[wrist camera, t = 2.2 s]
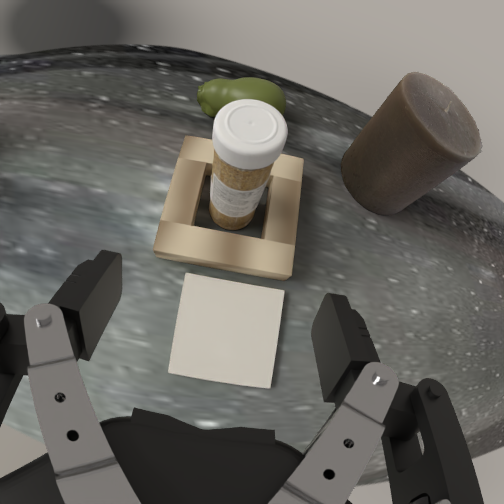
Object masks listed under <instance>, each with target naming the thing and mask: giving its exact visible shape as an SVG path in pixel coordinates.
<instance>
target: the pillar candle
mask: <svg viewBox="0 0 504 504" xmlns="http://www.w3.org/2000/svg"><path fill="white" fill-rule="evenodd" d="M481 148H482V142H481V139H480V135H479V129H478V128H477V126H476V123H475V121H474V119H473V117H472V116H471V114H470V113H469V111H468V110H467V108H466V107H465V105H464V104H463V103H462V102H461V101H460V100H459V98H458V97H457V96H456V95H455V94H454V92H453V91H452V90H451V89H450V88H448V87H447V86H445V85H443V84H442V83H440V82H439V81H437V80H435V79H434V78H432V77H430V76H428V75H425V74H422V73H418V72H412V73H408V74H407V75H406V76H404V77H403V79H402V80H401V81H400V82H399V83H398V85H397V86H396V87H395V88H394V90H393V91H392V92H391V94H390V95H389V96H388V97H387V99H386V100H385V101H384V103H383V104H382V105H381V107H380V108H379V109H378V110H377V111H376V113H375V115H374V116H373V117H372V118H371V119H370V121H369V122H368V123H367V124H366V126H365V127H364V128H363V130H362V131H361V132H360V134H359V135H358V136H357V137H356V139H355V140H354V142H353V143H352V144H351V146H350V147H349V148H348V150H347V151H346V152H345V154H344V156H343V158H342V162H341V172H342V177H343V181H344V184H345V186H346V188H347V189H348V191H349V192H350V194H351V195H352V196H353V197H354V199H355V200H356V201H357V202H359V203H360V204H361V205H362V206H363V207H365V208H366V209H368V210H370V211H372V212H374V213H376V214H380V215H392V214H396V213H398V212H399V211H401V210H403V209H404V208H405V207H407V206H408V205H410V204H411V203H413V202H414V201H415V200H417V199H418V198H420V197H421V196H423V195H424V194H426V193H427V192H428V191H430V190H431V189H433V188H434V187H435V186H437V185H438V184H440V183H441V182H442V181H444V180H445V179H447V178H448V177H449V176H451V175H452V174H454V173H455V172H456V171H458V170H459V169H461V168H462V167H463V166H465V165H466V164H467V163H468V162H470V161H471V160H472V159H474V158H475V157H476V156H477V155H478V154H479V153H481Z"/></svg>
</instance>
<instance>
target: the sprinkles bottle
mask: <svg viewBox="0 0 504 504" xmlns="http://www.w3.org/2000/svg"><path fill="white" fill-rule="evenodd" d="M287 134H288V129H287V124H286V121H285V119H284V118H283V116H282V115H281V113H280V112H279V111H278V110H277V109H275V108H274V107H273V106H271V105H269V104H267V103H265V102H262V101H259V100H253V99H242V100H236V101H233V102H231V103H229V104H227V105H225V106H224V107H223V108H222V109H221V110H220V111H219V112H218V113H217V115H216V117H215V120H214V125H213V136H212V141H213V146H214V158H213V168H212V175H211V188H210V197H211V200H210V203H209V212H210V215H211V217H212V219H213V221H214V222H215V223H216V224H217V225H219V226H220V227H222V228H224V229H228V230H237V229H241V228H243V227H245V226H247V225H248V224H249V223H250V222H251V220H252V218H253V217H254V214H255V208H256V207H257V205H258V203H259V201H260V198H261V196H262V194H263V191H264V189H265V186H266V184H267V181H268V179H269V176H270V173H271V169H272V167H273V164H274V162H275V161H276V160H277V159H278V157H279V156H280V154H281V152H282V150H283V147H284V145H285V142H286V138H287Z"/></svg>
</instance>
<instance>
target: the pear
mask: <svg viewBox="0 0 504 504" xmlns="http://www.w3.org/2000/svg"><path fill="white" fill-rule="evenodd" d="M198 88H199V90H198V92H197V101H198V103H199V104H200V106H201V108H202V111H203V112H204V113H205V114H207V115H209V116H211V117H216V115H217V113H218V112H219V111H220V110H221V109H222V108H223V107H224V106H225V105H227V104H229V103H231V102H233V101H236V100H242V99H253V100H259V101H262V102H265V103H267V104H269V105H271V106H273V107H274V108H275V109H277V110H278V111H279V112H280V113H281V115H282V116H283V114H284V112H285V108H286V99H285V95H284V93H283V91H282V90H281V89H280V88H279V87H278V86H277V85H276V84H274V83H272V82H270V81H267V80H264V79H259V78H240V79H236V80H228V79H214V80H211V81H210V82H205V84H204V85H202V86H198Z"/></svg>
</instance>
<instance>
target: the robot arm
mask: <svg viewBox="0 0 504 504" xmlns="http://www.w3.org/2000/svg"><path fill="white" fill-rule="evenodd" d="M121 294H122V256H121V254H120V253H116V252H111V251H106V250H101V251H100V253H99V254H98V255H97V256H96V258H95V259H94V260H93V261H92V260H87V261H85V262H83V263H81V264H80V265H78V266H77V267H76V268H75V270H74V271H73V272H72V273H71V275H70V276H69V277H68V278H67V280H66V282H64V283H63V285H62V286H61V287H60V288H59V290H58V291H57V292H56V294H55V295H54V296H53V298H52V299H51V300H50V302H49V303H48V304H39V305H36V306H34V307H32V308H31V309H29V310H28V311H27V313H26V314H25V315H13V314H6V311H5V308H4V306H3V305H2V303H0V426H1V424H2V422H3V419H4V417H5V414H6V412H7V410H8V407H9V405H10V403H11V401H12V398H13V396H14V394H15V392H16V390H17V387H18V385H19V383H20V381H21V379H22V377H23V375H28V376H29V382H30V387H31V391H32V396H33V400H34V405H35V409H36V413H37V417H38V421H39V424H40V428H41V431H42V435H43V438H44V441H45V445H46V448H47V451H48V453H46V454H44V455H42V456H41V457H39V458H37V459H35V460H33V461H32V462H30V463H28V464H26V465H24V466H23V467H21V468H19V469H17V470H15V471H13V472H11V473H9V474H8V475H6V476H4V477H2V478H0V504H352V503H351V502H350V501H349V500H348V497H349V496H350V494H351V492H352V490H353V489H354V487H355V486H356V484H357V482H358V480H359V479H360V477H361V475H362V473H363V471H364V470H365V468H366V466H367V464H368V462H369V460H370V458H371V456H372V454H373V452H374V450H375V448H376V446H377V444H378V442H379V440H380V438H381V440H382V445H383V450H384V455H385V460H386V466H387V471H388V477H389V483H390V489H391V495H392V502H393V504H484V502H483V498H482V494H481V490H480V487H479V483H478V479H477V476H476V473H475V469H474V466H473V463H472V459H471V456H470V453H469V450H468V447H467V444H466V441H465V438H464V435H463V432H462V430H461V427H460V424H459V421H458V419H457V416H456V413H455V411H454V408H453V406H452V403H451V401H450V398H449V396H448V393H447V391H446V389H445V388H444V387H443V385H442V384H441V383H439V382H438V381H436V380H434V379H430V378H425V379H423V380H421V381H420V382H419V384H418V385H417V386H412V385H409V384H406V383H402V382H399V380H398V377H397V375H396V373H395V372H394V371H393V370H392V369H391V368H390V367H389V366H387V365H385V364H383V363H381V362H380V360H379V357H378V355H377V352H376V349H375V347H374V344H373V342H372V339H371V338H370V334H369V332H368V330H367V327H366V324H365V322H364V319H363V318H362V317H361V316H360V314H359V313H358V312H357V311H356V310H353V309H351V307H350V304H349V302H348V299H347V297H346V296H344V295H338V294H331V293H327V294H326V295H325V297H324V299H323V301H322V304H321V306H320V308H319V311H318V313H317V315H316V318H315V320H314V322H313V325H312V331H311V337H312V342H313V347H314V352H315V357H316V362H317V367H318V373H319V378H320V383H321V389H322V394H323V400H324V402H331V403H335V406H336V408H335V409H334V411H333V412H332V413H331V415H330V416H329V418H328V419H327V421H326V422H325V423H324V425H323V426H322V428H321V429H320V430H319V432H318V433H317V435H316V436H315V437H314V439H313V440H312V441H311V443H310V444H309V445H308V446H307V448H306V449H305V450H304V451H303V453H301V452H300V451H298V450H297V449H295V448H294V447H292V446H290V445H288V444H286V443H283V442H281V441H278V440H275V430H267V429H255V428H245V427H235V428H225V429H212V430H203V429H199V428H197V427H194V426H192V425H189V424H187V423H185V422H182V421H180V420H178V419H175V418H173V417H171V416H168V415H164V414H159V413H155V412H151V411H146V410H142V409H138V408H134V409H133V413H132V416H126V417H116V418H111V419H107V420H104V421H101V422H99V421H98V419H97V416H96V414H95V412H94V409H93V407H92V404H91V401H90V399H89V396H88V394H87V391H86V388H85V385H84V383H83V380H82V377H81V374H80V371H79V368H78V365H77V361H78V359H79V358H80V359H83V360H86V361H89V360H90V358H91V356H92V354H93V352H94V350H95V348H96V346H97V344H98V342H99V340H100V338H101V336H102V334H103V332H104V330H105V328H106V326H107V324H108V322H109V320H110V318H111V316H112V314H113V312H114V310H115V308H116V306H117V305H118V303H119V301H120V298H121ZM419 431H420V432H421V436H422V439H423V443H424V454H423V456H422V452H421V448H420V444H419V440H418V437H417V433H418V432H419Z"/></svg>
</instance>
